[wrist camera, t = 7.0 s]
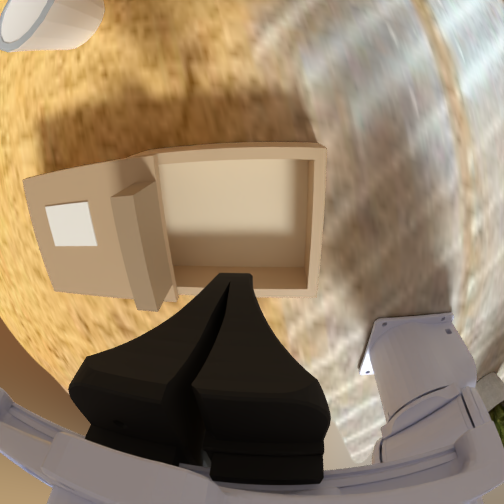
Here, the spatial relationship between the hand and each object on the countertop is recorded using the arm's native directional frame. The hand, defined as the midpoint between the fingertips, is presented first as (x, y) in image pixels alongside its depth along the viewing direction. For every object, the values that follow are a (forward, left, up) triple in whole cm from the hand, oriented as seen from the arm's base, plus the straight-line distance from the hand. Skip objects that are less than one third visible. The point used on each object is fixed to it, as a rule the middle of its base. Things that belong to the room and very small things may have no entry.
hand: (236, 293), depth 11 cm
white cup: (+14, -18, -10) cm, 25 cm away
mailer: (+2, 0, -10) cm, 10 cm away
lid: (+11, 0, -6) cm, 13 cm away
